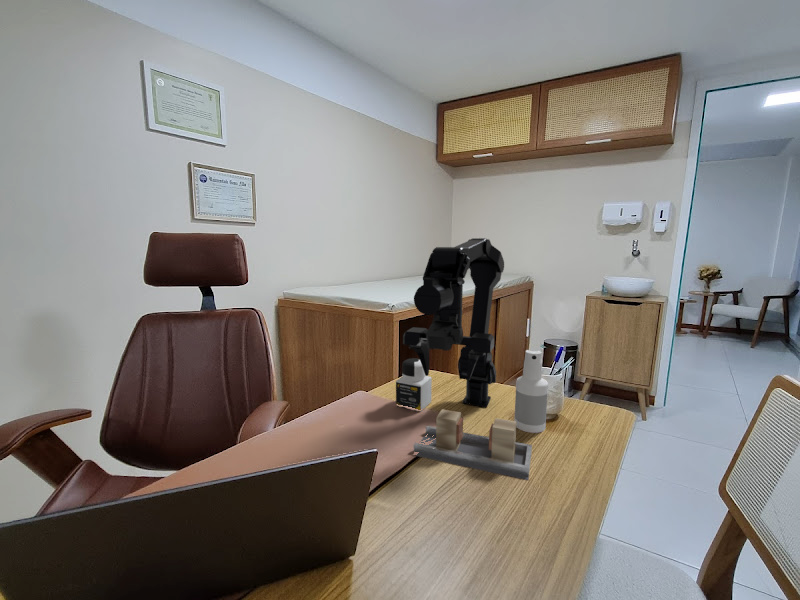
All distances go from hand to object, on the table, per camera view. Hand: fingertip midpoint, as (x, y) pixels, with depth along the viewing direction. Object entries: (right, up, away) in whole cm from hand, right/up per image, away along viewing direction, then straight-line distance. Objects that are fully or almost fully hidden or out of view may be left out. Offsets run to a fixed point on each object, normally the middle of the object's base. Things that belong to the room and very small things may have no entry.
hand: (447, 377), depth 83 cm
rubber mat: (+4, -14, -6) cm, 16 cm away
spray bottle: (+20, -13, +5) cm, 24 cm away
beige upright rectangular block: (+10, -14, -8) cm, 19 cm away
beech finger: (0, -13, -4) cm, 14 cm away
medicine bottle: (-7, -11, +17) cm, 21 cm away
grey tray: (+4, -14, -6) cm, 16 cm away
